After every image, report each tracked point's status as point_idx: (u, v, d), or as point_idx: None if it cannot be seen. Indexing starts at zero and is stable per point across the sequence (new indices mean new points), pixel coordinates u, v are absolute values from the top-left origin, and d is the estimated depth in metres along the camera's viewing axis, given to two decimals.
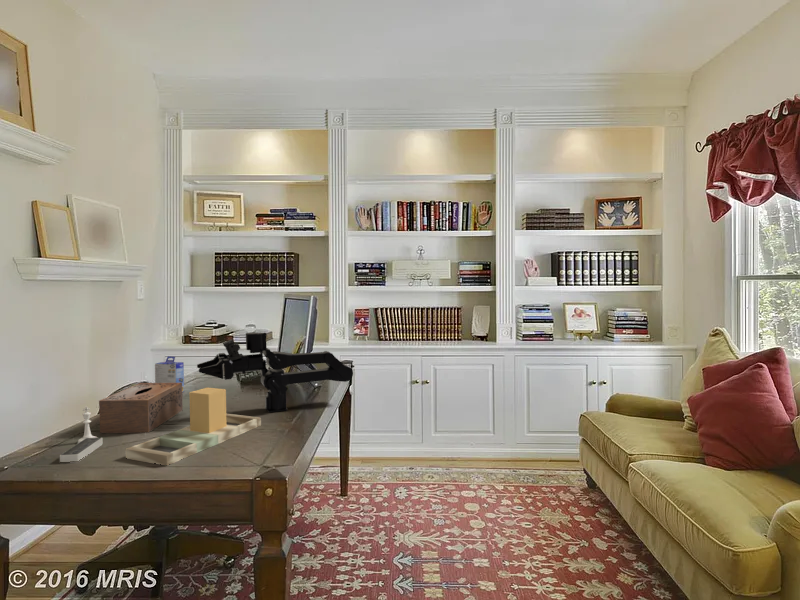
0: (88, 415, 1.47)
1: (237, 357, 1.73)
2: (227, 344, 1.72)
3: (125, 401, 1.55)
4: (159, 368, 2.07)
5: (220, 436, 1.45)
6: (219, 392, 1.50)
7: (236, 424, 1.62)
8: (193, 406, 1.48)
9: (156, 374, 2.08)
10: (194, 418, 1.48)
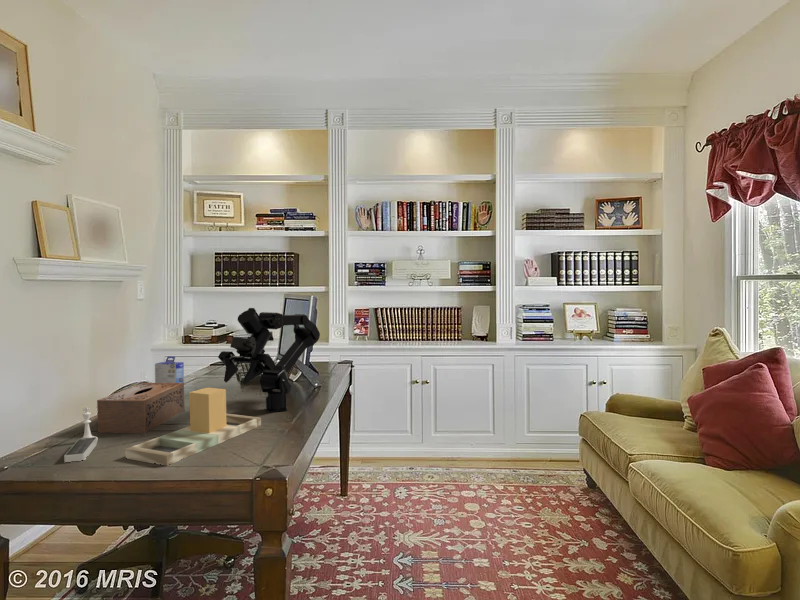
0: (88, 415, 1.47)
1: (254, 346, 1.66)
2: (242, 344, 1.61)
3: (122, 401, 1.55)
4: (159, 368, 2.07)
5: (220, 436, 1.45)
6: (219, 392, 1.50)
7: (236, 424, 1.62)
8: (193, 406, 1.48)
9: (156, 374, 2.08)
10: (194, 418, 1.48)
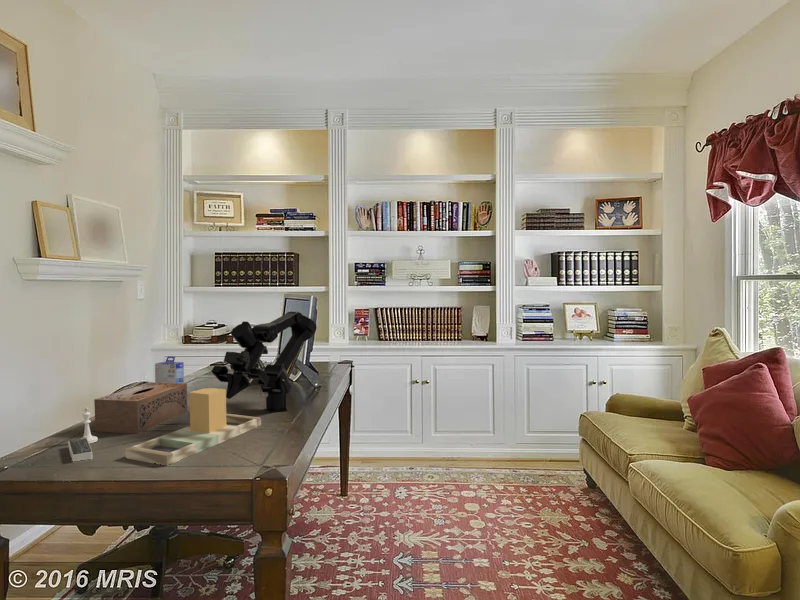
0: (88, 415, 1.47)
1: (248, 360, 1.63)
2: (236, 359, 1.58)
3: (117, 401, 1.56)
4: (159, 368, 2.07)
5: (220, 436, 1.45)
6: (219, 392, 1.50)
7: (236, 424, 1.62)
8: (193, 406, 1.48)
9: (156, 374, 2.07)
10: (194, 418, 1.48)
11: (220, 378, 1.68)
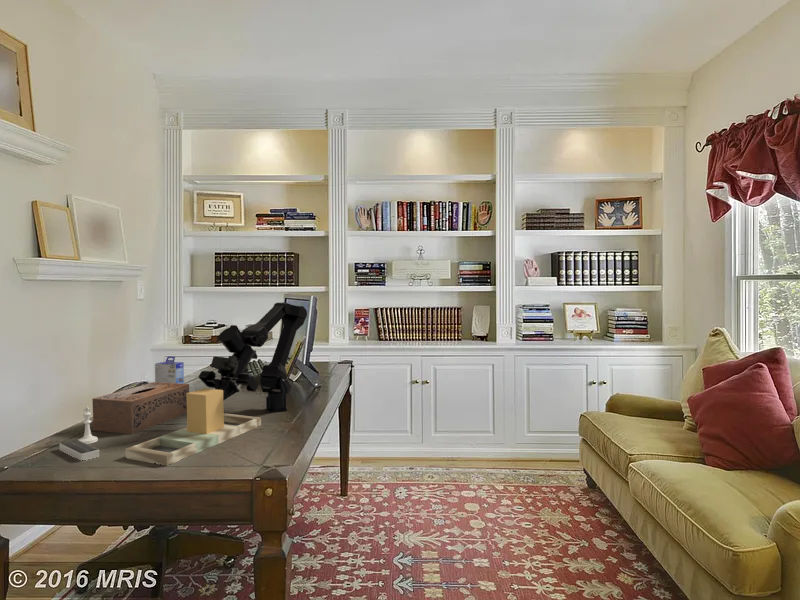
0: (88, 415, 1.47)
1: (237, 365, 1.58)
2: (223, 364, 1.53)
3: (113, 401, 1.56)
4: (159, 368, 2.07)
5: (220, 436, 1.45)
6: (216, 393, 1.49)
7: (236, 424, 1.62)
8: (190, 407, 1.47)
9: (156, 374, 2.08)
10: (191, 419, 1.47)
11: (208, 384, 1.63)
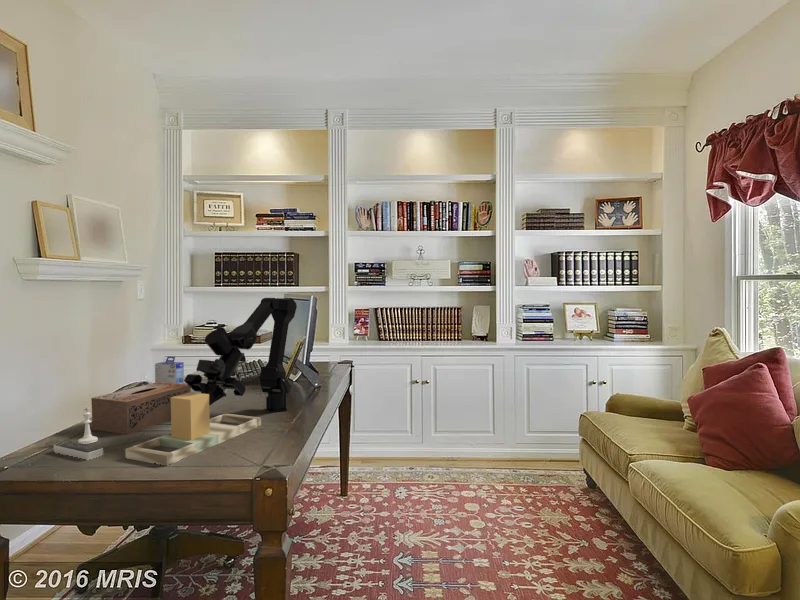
0: (88, 415, 1.47)
1: (223, 369, 1.53)
2: (209, 368, 1.48)
3: (110, 401, 1.56)
4: (159, 368, 2.07)
5: (220, 436, 1.45)
6: (202, 397, 1.44)
7: (236, 424, 1.62)
8: (174, 412, 1.42)
9: (156, 374, 2.08)
10: (176, 425, 1.42)
11: (194, 387, 1.57)
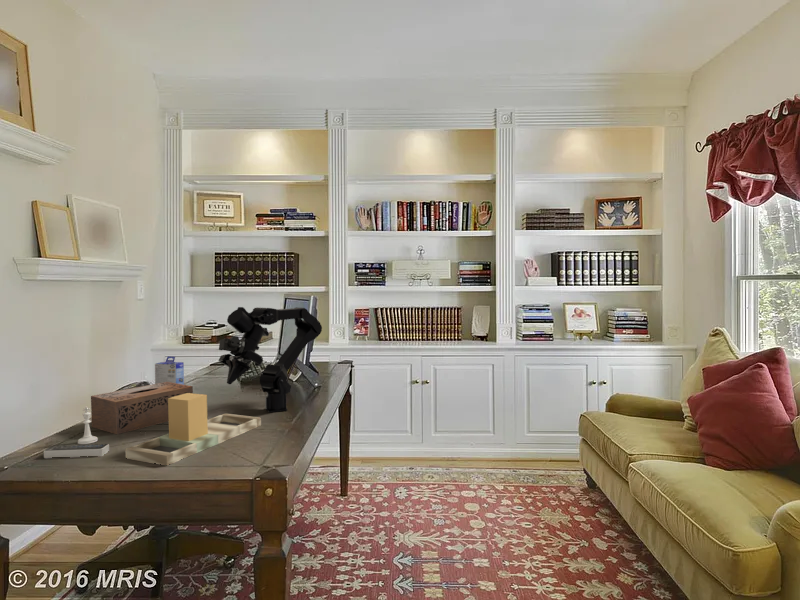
0: (88, 415, 1.47)
1: (243, 344, 1.65)
2: (226, 345, 1.62)
3: (104, 400, 1.57)
4: (159, 368, 2.07)
5: (220, 436, 1.45)
6: (199, 398, 1.43)
7: (236, 424, 1.62)
8: (172, 413, 1.41)
9: (156, 374, 2.08)
10: (173, 425, 1.41)
11: None
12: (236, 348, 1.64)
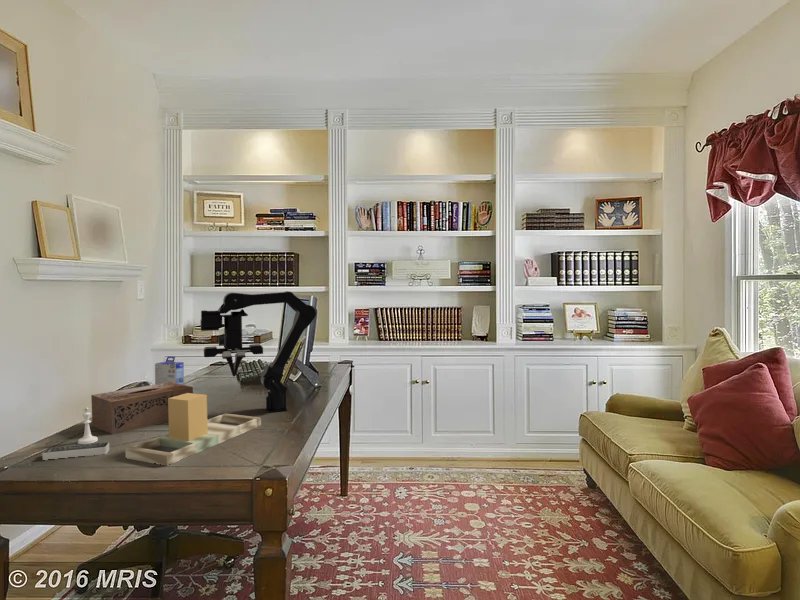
0: (88, 415, 1.47)
1: (224, 339, 1.76)
2: None
3: (102, 399, 1.58)
4: (159, 368, 2.07)
5: (220, 436, 1.45)
6: (199, 398, 1.43)
7: (236, 424, 1.62)
8: (172, 413, 1.41)
9: (156, 374, 2.08)
10: (173, 425, 1.41)
11: None
12: None
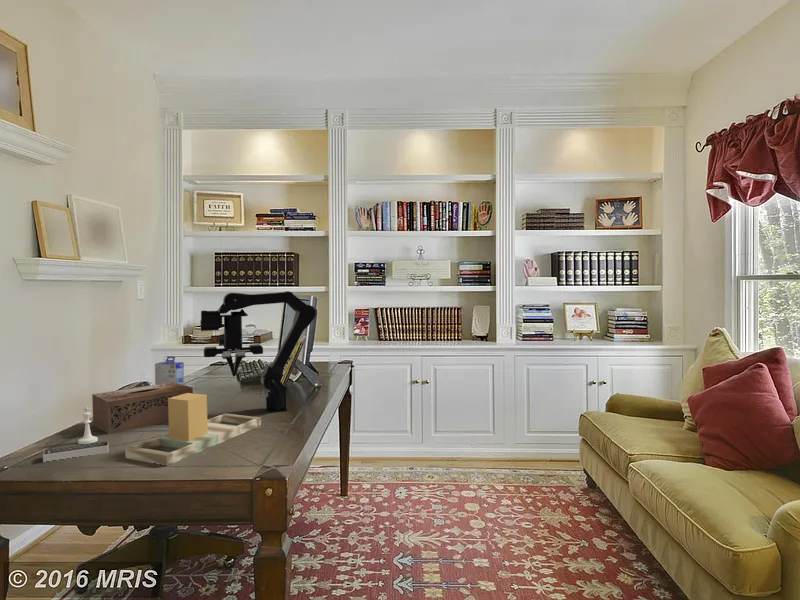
0: (88, 415, 1.47)
1: (224, 339, 1.76)
2: None
3: (100, 399, 1.59)
4: (159, 368, 2.07)
5: (220, 436, 1.45)
6: (199, 398, 1.43)
7: (236, 424, 1.62)
8: (172, 413, 1.41)
9: (156, 374, 2.08)
10: (173, 425, 1.41)
11: None
12: None
